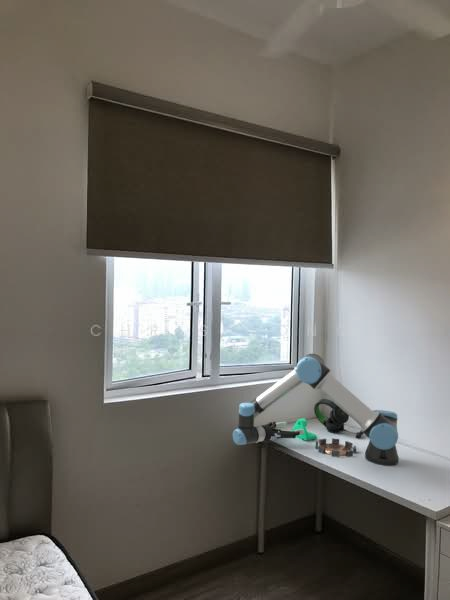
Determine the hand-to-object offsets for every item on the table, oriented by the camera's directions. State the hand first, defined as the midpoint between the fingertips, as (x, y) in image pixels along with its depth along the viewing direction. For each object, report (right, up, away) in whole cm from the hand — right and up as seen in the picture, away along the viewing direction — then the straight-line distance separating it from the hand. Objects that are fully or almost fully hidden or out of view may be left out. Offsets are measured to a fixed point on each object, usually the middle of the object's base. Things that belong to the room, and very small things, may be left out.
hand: (294, 428), depth 249 cm
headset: (+26, -7, +15) cm, 31 cm away
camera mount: (+6, -6, +4) cm, 9 cm away
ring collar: (+18, -7, -13) cm, 24 cm away
